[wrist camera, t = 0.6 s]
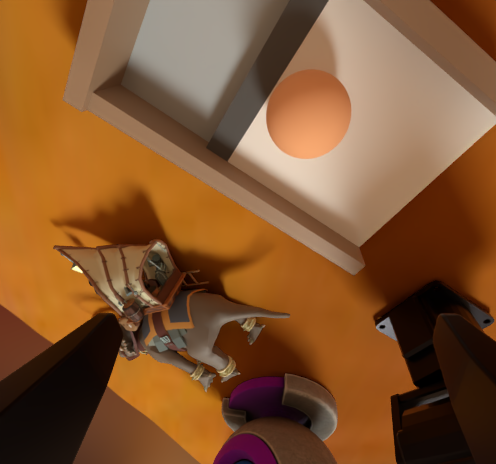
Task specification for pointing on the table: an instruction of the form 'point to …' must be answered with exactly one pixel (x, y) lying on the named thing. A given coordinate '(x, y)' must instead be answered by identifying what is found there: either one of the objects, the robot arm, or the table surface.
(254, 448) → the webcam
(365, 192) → the shallow open tray
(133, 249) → the figurine
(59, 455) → the robot arm
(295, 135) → the ball
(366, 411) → the table surface
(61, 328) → the table surface
